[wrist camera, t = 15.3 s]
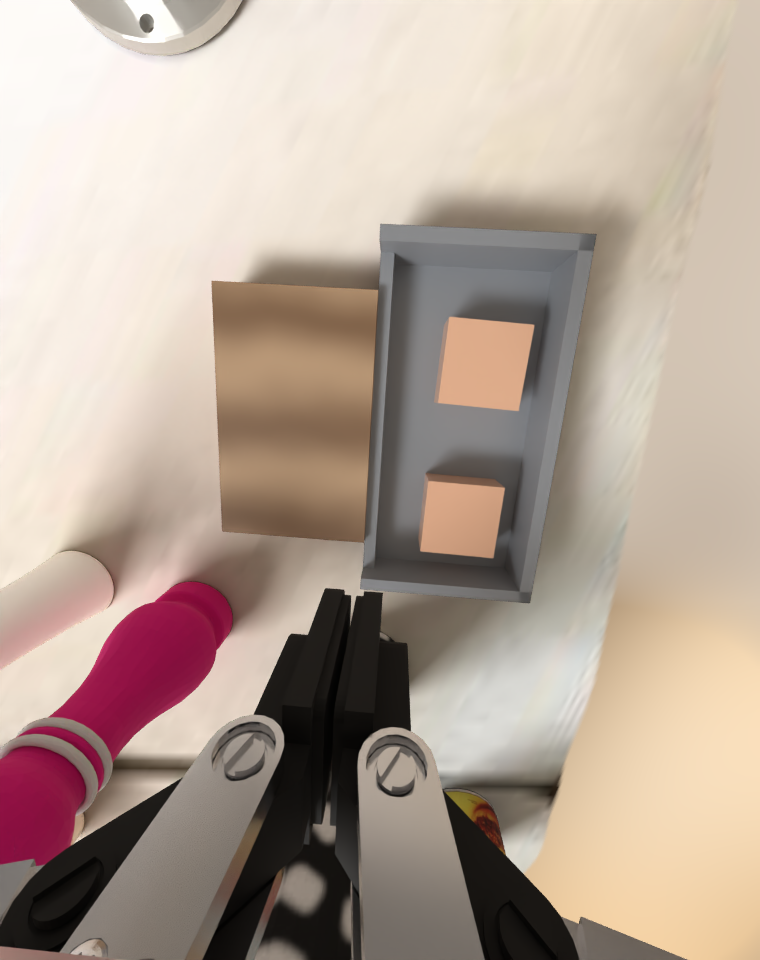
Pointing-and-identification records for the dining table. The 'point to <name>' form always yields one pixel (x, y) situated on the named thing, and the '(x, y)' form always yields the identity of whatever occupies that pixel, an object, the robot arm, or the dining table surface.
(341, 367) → the board
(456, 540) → the tile
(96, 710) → the pepper mill
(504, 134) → the dining table surface
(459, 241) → the box
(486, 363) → the tile
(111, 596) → the cosmetic bottle
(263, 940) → the spotted tube
